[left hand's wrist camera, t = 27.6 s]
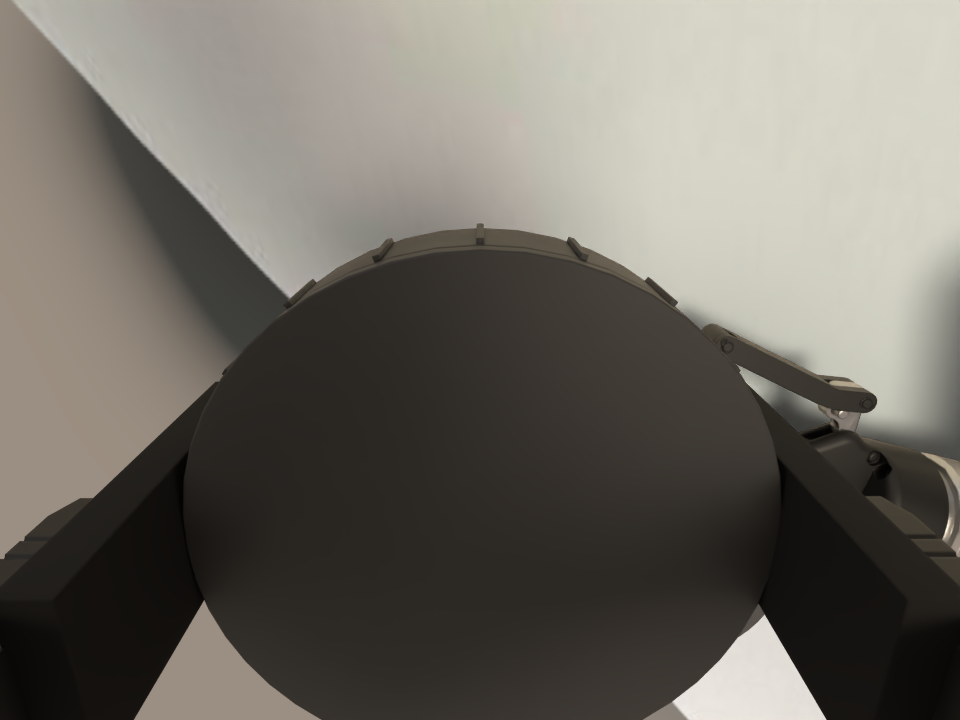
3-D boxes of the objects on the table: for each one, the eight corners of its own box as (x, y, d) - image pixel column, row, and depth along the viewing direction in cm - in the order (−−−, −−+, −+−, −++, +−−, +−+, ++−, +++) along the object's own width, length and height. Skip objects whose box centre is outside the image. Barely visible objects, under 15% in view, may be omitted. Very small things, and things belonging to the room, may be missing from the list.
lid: (483, 739, 14) (484, 834, 13) (127, 482, 12) (60, 548, 10) (836, 477, 12) (904, 544, 10) (479, 95, 10) (479, 86, 8)
